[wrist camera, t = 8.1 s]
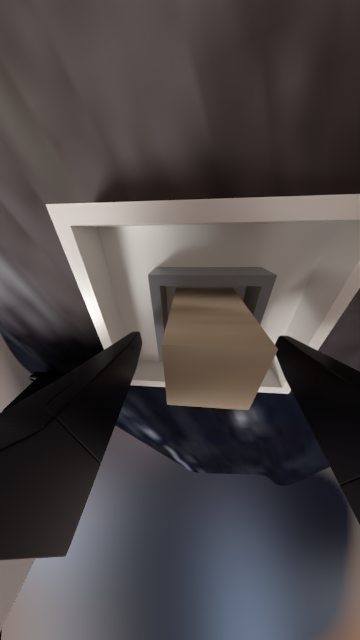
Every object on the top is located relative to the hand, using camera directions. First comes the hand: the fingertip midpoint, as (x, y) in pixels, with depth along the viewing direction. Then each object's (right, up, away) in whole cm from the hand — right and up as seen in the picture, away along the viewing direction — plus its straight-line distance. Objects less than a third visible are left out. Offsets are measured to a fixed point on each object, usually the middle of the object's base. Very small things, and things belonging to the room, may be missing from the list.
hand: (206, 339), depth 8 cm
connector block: (0, +2, +3) cm, 3 cm away
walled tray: (0, +2, +3) cm, 4 cm away
